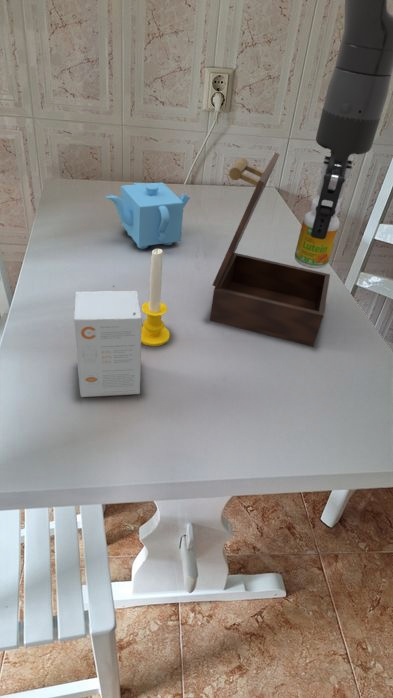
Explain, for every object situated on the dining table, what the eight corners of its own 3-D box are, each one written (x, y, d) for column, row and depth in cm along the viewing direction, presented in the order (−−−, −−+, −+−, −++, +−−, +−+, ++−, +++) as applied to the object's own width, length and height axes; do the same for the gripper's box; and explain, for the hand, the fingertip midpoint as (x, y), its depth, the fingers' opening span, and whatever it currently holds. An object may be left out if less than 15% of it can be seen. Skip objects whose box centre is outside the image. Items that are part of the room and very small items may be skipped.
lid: (279, 154, 76) (248, 139, 76) (264, 182, 66) (228, 165, 66) (235, 250, 88) (208, 238, 88) (216, 287, 78) (185, 273, 78)
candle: (139, 347, 75) (142, 257, 65) (133, 327, 78) (135, 239, 69) (172, 344, 76) (180, 255, 66) (165, 324, 80) (171, 237, 70)
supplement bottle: (293, 266, 76) (308, 206, 70) (293, 250, 80) (308, 192, 74) (328, 271, 75) (346, 212, 69) (326, 255, 80) (343, 198, 73)
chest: (320, 304, 89) (330, 274, 85) (313, 347, 79) (323, 315, 75) (228, 282, 92) (233, 252, 88) (209, 320, 82) (213, 289, 78)
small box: (136, 364, 72) (138, 289, 63) (140, 395, 67) (142, 318, 59) (80, 366, 70) (74, 290, 62) (79, 398, 65) (73, 319, 57)
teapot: (201, 249, 101) (207, 197, 94) (118, 262, 94) (118, 206, 87) (170, 217, 112) (174, 168, 105) (93, 226, 105) (91, 174, 98)
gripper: (382, 127, 58) (341, 255, 68) (381, 103, 69) (346, 216, 79) (318, 116, 59) (288, 243, 69) (328, 94, 70) (300, 207, 80)
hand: (319, 228), depth 74 cm, fingers closed on supplement bottle, 5 cm apart
